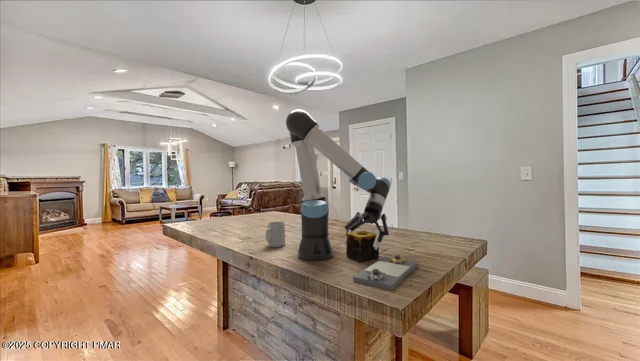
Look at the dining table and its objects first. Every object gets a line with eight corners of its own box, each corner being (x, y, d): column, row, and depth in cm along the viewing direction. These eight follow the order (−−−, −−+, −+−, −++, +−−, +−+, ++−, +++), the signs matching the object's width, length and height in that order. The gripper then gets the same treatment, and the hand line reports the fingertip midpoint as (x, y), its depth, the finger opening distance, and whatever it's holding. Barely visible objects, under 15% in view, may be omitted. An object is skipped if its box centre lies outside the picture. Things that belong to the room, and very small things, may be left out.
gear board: (353, 281, 89) (353, 269, 89) (384, 260, 110) (384, 250, 110) (391, 290, 82) (391, 277, 82) (417, 266, 103) (417, 255, 103)
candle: (359, 262, 108) (359, 237, 108) (345, 256, 117) (345, 232, 117) (379, 258, 113) (379, 234, 112) (364, 252, 122) (364, 230, 121)
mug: (275, 242, 143) (275, 221, 143) (288, 244, 139) (288, 222, 139) (259, 247, 133) (259, 225, 133) (273, 249, 129) (273, 226, 128)
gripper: (403, 212, 120) (391, 255, 108) (353, 209, 134) (338, 246, 122) (399, 201, 115) (385, 245, 104) (348, 199, 130) (331, 237, 118)
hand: (359, 246), depth 113 cm, fingers closed on candle, 13 cm apart
